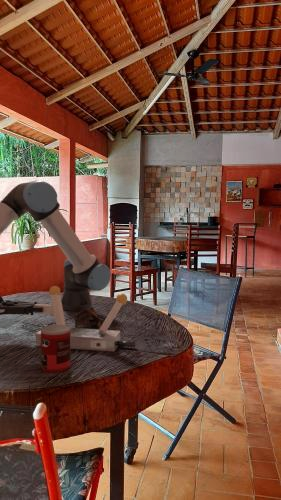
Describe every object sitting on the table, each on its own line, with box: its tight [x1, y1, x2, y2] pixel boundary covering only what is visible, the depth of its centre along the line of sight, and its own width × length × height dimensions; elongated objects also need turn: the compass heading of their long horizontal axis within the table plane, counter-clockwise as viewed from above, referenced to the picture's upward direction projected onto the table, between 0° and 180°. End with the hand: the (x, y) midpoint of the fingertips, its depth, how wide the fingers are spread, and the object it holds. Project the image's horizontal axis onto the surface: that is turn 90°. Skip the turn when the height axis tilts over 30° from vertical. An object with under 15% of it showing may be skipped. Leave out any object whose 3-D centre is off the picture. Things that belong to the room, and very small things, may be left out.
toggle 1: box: [48, 285, 67, 326], centre depth 125 cm, size 4×4×15 cm
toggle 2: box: [98, 293, 128, 335], centre depth 122 cm, size 4×4×15 cm
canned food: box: [40, 324, 71, 373], centre depth 104 cm, size 8×8×11 cm
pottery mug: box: [73, 308, 102, 330], centre depth 145 cm, size 12×10×8 cm
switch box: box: [35, 327, 137, 353], centre depth 123 cm, size 10×32×4 cm, turn 81°
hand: (53, 309), depth 125 cm, fingers closed
